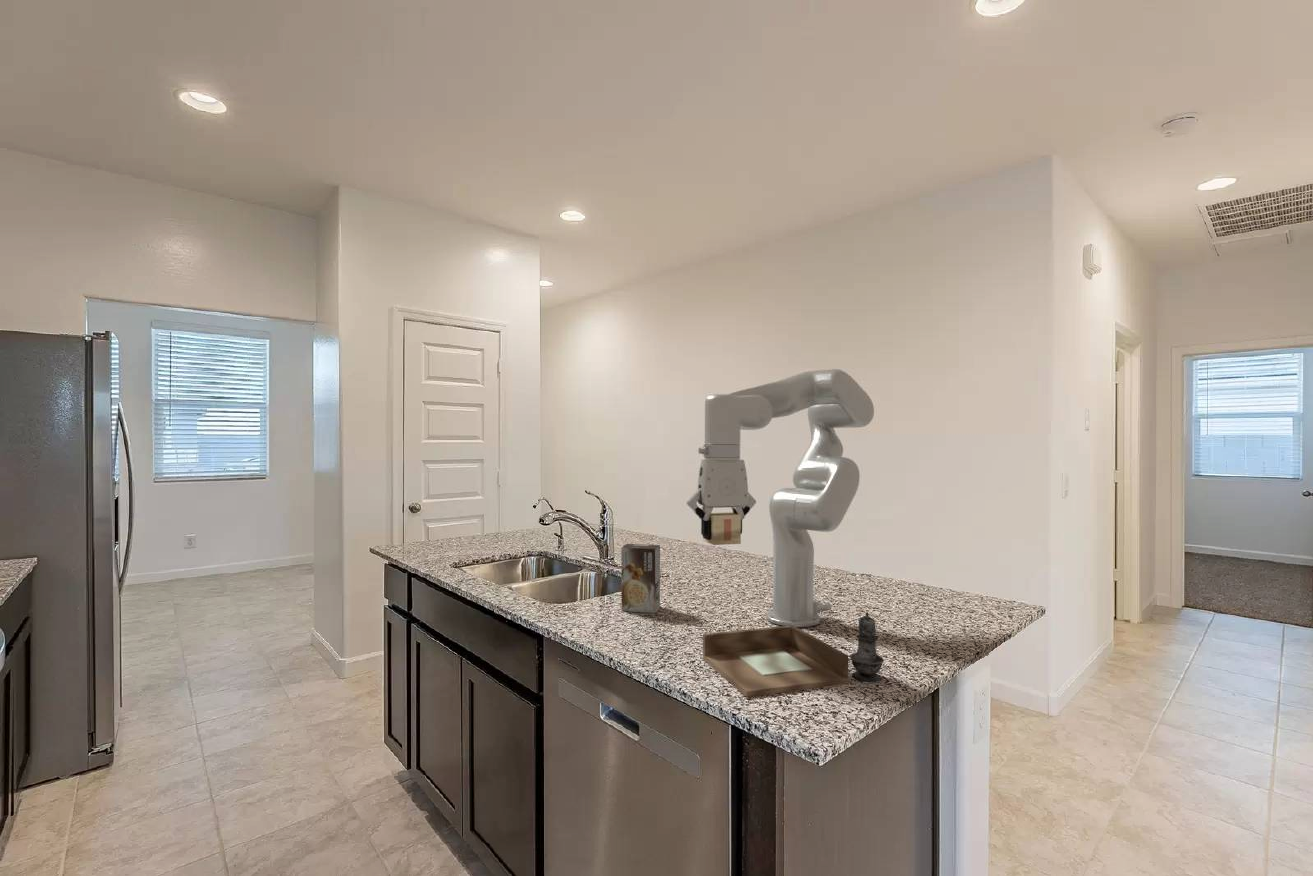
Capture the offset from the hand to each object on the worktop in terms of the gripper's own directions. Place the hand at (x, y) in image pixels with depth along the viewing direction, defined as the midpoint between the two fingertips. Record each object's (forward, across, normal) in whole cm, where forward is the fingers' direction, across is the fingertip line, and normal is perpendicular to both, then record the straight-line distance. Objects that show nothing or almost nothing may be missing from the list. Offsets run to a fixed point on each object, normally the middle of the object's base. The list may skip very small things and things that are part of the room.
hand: (721, 537), depth 133 cm
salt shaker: (+23, +18, -25) cm, 38 cm away
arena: (+22, +3, -17) cm, 28 cm away
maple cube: (+1, 0, 0) cm, 1 cm away
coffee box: (+23, -9, +31) cm, 39 cm away
